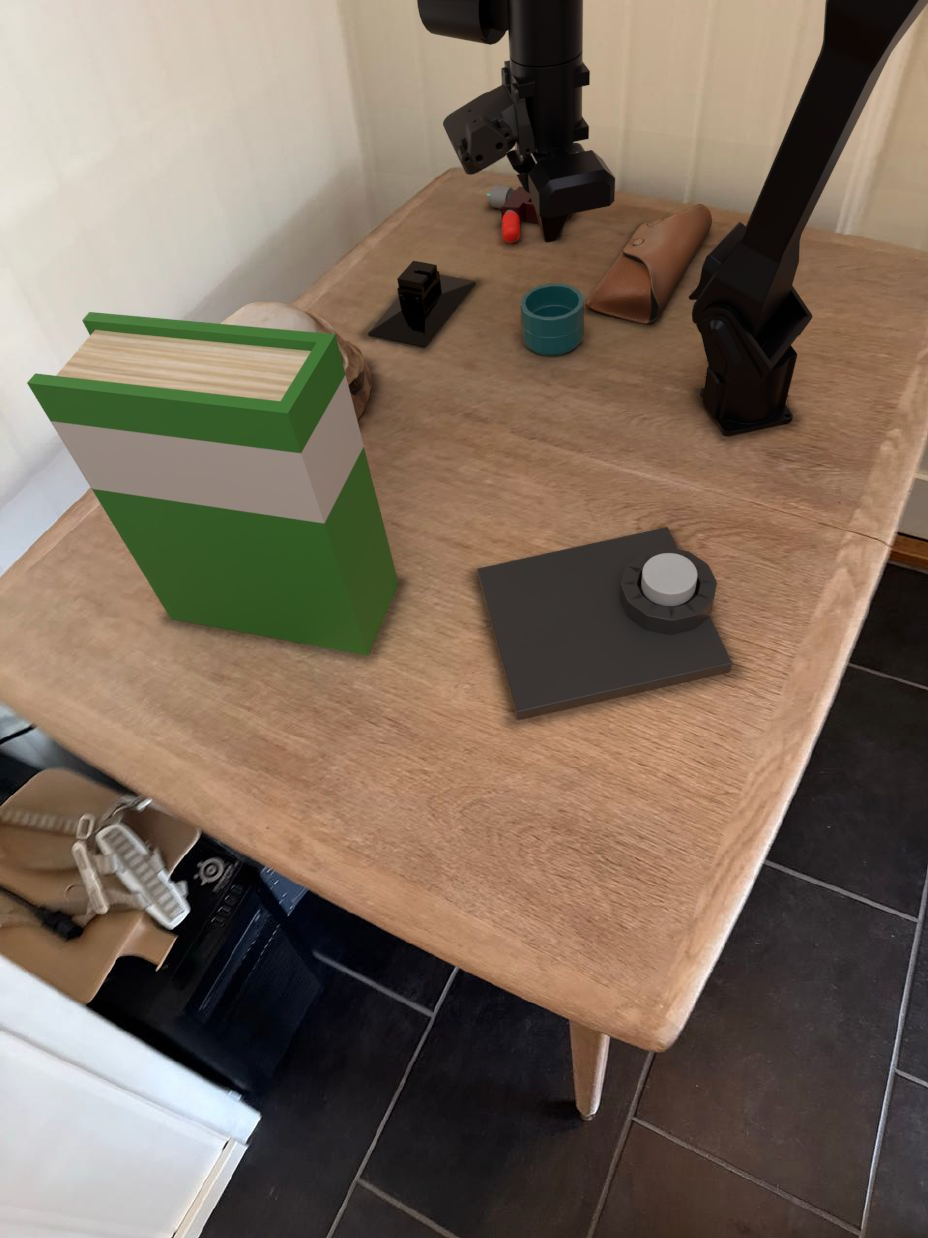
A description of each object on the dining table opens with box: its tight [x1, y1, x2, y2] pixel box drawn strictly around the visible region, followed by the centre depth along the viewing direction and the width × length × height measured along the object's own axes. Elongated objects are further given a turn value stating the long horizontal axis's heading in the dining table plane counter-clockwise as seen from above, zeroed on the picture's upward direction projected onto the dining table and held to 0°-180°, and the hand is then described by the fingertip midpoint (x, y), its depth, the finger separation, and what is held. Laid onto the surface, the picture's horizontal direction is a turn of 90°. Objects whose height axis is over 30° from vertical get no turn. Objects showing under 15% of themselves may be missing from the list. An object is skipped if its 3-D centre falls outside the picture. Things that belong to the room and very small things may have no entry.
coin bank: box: [219, 301, 373, 421], centre depth 82 cm, size 16×17×13 cm
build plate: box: [367, 260, 477, 349], centre depth 94 cm, size 12×7×5 cm, turn 154°
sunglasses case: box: [585, 203, 713, 325], centre depth 94 cm, size 18×7×7 cm
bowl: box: [520, 282, 585, 357], centre depth 88 cm, size 6×6×4 cm
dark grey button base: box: [476, 526, 733, 721], centre depth 67 cm, size 17×14×3 cm
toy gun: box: [486, 184, 574, 244], centre depth 102 cm, size 10×12×5 cm
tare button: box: [641, 553, 697, 606], centre depth 66 cm, size 4×4×2 cm
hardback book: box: [26, 311, 400, 656], centre depth 63 cm, size 18×7×24 cm, turn 74°
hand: (549, 239), depth 81 cm, fingers closed
